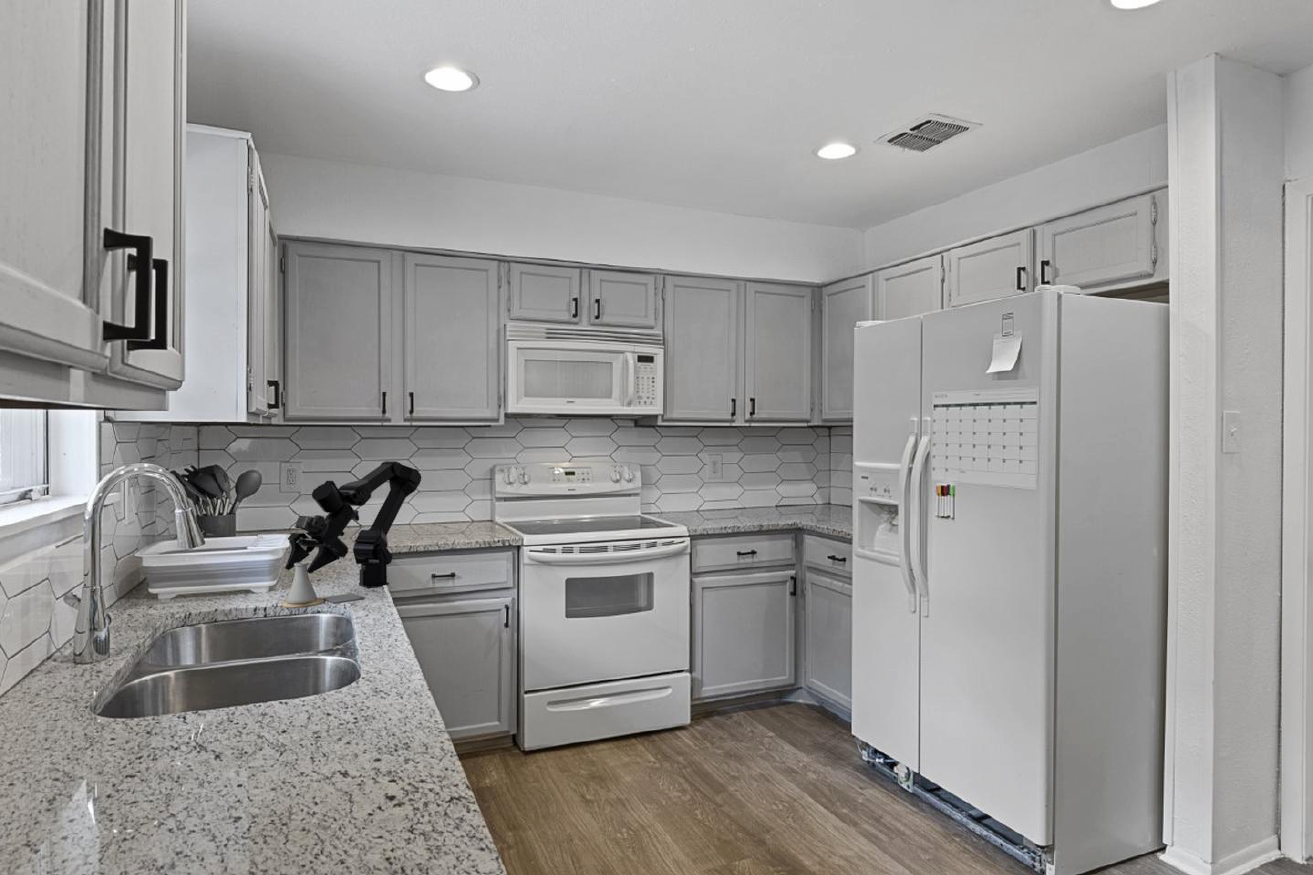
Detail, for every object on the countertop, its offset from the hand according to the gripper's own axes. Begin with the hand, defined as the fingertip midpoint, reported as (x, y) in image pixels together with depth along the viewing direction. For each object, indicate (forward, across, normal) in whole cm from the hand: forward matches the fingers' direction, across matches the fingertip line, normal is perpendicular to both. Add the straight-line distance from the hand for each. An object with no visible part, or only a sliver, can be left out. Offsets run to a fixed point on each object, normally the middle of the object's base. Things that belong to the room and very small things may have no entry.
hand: (297, 570), depth 201 cm
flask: (+5, 0, +7) cm, 9 cm away
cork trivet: (+5, 0, +7) cm, 9 cm away
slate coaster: (-1, +5, +13) cm, 14 cm away
